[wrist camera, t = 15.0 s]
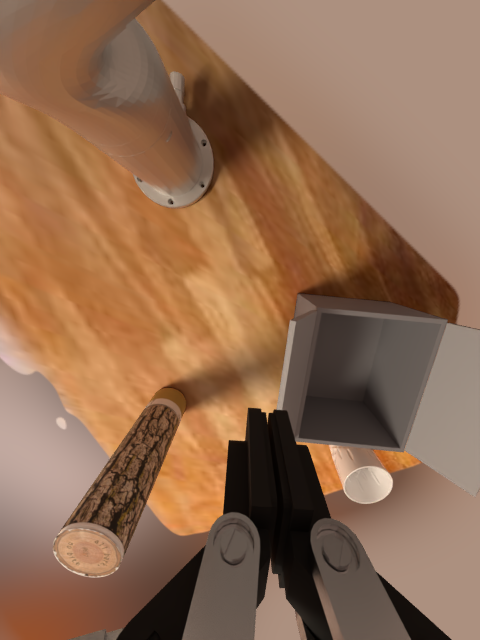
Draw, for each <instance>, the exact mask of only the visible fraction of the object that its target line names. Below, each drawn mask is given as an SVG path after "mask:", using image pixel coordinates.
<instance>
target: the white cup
mask: <svg viewBox="0 0 480 640" xmlns="http://www.w3.org/2000/svg"><path fill="white" fill-rule="evenodd" d="M329 448H330V450H331V454H332V458H333V461H334V464H335V467H336V469H337V472H338V475H339V478H340V481H341V483H342V486H343V489H344V492H345V494H346V495H347V496H348V497H349V498H350V499H351V500H353V501H355V502H358V503H363V504H369V503H374V502H377V501H380V500H382V499H383V498H385V497H386V496H387V495H388V494H389V493H390V491H391V489H392V486H393V480H392V477H391V475H390V474H389V472H388V471H387V469H386V468H385V467H384V465H383V464H382V462H381V461H380V460H379V458H378V457H377V455H376V454H375V453H374V451H373V450H372V449H366V448H356V447H346V446H337V445H329Z"/></svg>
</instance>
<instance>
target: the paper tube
mask: <svg viewBox="0 0 480 640" xmlns="http://www.w3.org/2000/svg"><path fill="white" fill-rule="evenodd" d="M185 409H186V400H185V397H184V396H183V394H182V393H181V392H180V391H178V390H176V389H173V388H163V389H161V390H159V391H157V392H156V393H155V395H154V396H153V398H152V399H151V401H150V402H149V403H148V405H147V406H146V408H145V409H144V410H143V412H142V413H141V415H140V416H139V418H138V419H137V421H136V422H135V423H134V425H133V426H132V428H131V429H130V431H129V432H128V434H127V435H126V436H125V438H124V439H123V441H122V442H121V444H120V445H119V447H118V448H117V450H116V451H115V452H114V454H113V455H112V457H111V458H110V460H109V461H108V463H107V464H106V466H105V467H104V468H103V470H102V471H101V473H100V474H99V476H98V477H97V479H96V480H95V481H94V483H93V484H92V486H91V487H90V489H89V490H88V491H87V493H86V494H85V496H84V497H83V499H82V500H81V502H80V503H79V504H78V506H77V508H76V509H75V510H74V512H73V513H72V515H71V516H70V518H69V519H68V521H67V522H66V523H65V525H64V526H63V528H62V529H61V531H60V532H59V534H58V536H57V537H56V538H55V540H54V543H53V552H54V555H55V557H56V559H57V560H58V561H59V562H60V563H61V564H62V565H63V566H64V567H65V568H67V569H68V570H70V571H72V572H74V573H76V574H79V575H82V576H86V577H103V576H107V575H110V574H112V573H113V572H115V571H116V570H117V569H118V568H119V566H120V564H121V561H122V560H123V557H124V555H125V553H126V550H127V548H128V545H129V543H130V541H131V538H132V536H133V533H134V531H135V529H136V526H137V524H138V521H139V519H140V517H141V514H142V512H143V510H144V507H145V505H146V502H147V500H148V498H149V495H150V493H151V490H152V488H153V486H154V483H155V481H156V478H157V476H158V474H159V471H160V469H161V467H162V464H163V462H164V459H165V457H166V455H167V452H168V450H169V447H170V445H171V443H172V440H173V438H174V435H175V433H176V431H177V428H178V426H179V424H180V421H181V418H182V416H183V414H184V411H185Z"/></svg>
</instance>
